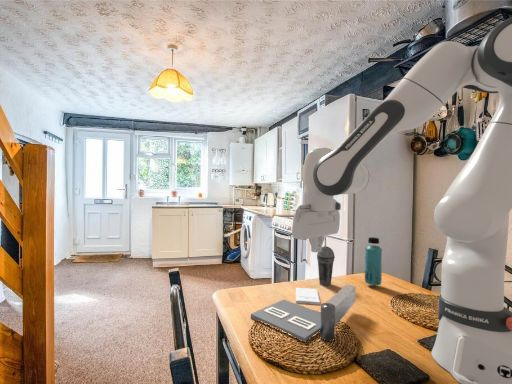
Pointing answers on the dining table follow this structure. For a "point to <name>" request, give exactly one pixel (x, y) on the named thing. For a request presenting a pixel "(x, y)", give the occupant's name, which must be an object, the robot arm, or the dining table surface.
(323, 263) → the beverage cup
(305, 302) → the external hard drive
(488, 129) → the robot arm
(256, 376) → the dining table surface
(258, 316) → the label panel
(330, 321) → the grey rectangular block
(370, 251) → the beverage bottle
